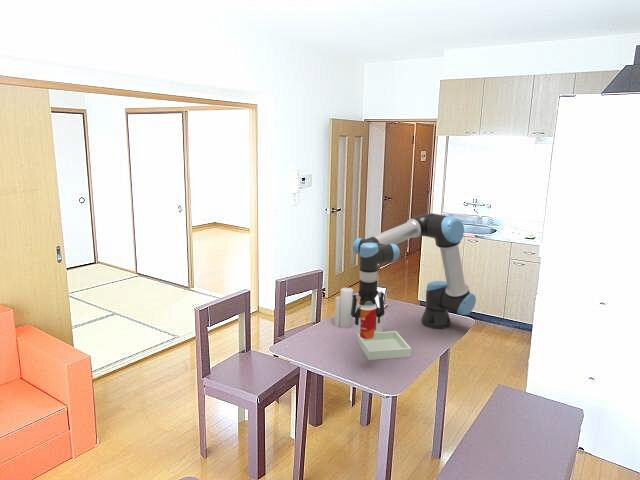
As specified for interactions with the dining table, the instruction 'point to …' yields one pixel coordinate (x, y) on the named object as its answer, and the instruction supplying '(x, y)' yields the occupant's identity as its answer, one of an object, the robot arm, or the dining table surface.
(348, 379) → the dining table surface
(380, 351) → the bin
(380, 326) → the jar
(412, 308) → the dining table surface
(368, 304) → the coffee cup
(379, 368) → the dining table surface
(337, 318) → the candle
